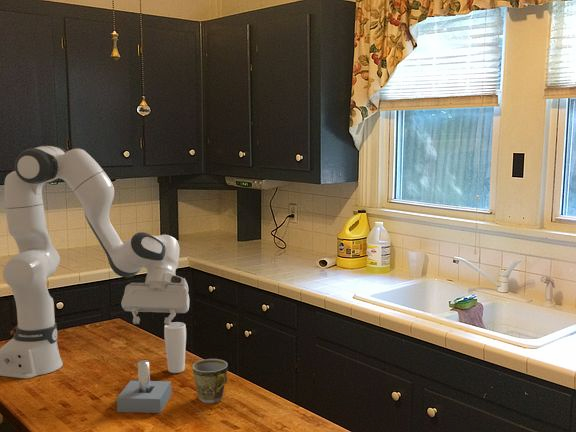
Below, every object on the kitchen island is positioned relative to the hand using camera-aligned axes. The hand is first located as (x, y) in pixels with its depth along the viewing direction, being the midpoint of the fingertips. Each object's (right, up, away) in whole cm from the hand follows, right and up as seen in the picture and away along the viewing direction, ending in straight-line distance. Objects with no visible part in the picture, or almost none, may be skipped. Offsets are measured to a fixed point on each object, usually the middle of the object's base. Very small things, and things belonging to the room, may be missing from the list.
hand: (151, 323), depth 191 cm
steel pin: (0, -21, -9) cm, 23 cm away
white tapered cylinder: (+5, -18, +15) cm, 23 cm away
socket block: (0, -21, -9) cm, 23 cm away
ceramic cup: (+19, -21, -7) cm, 29 cm away
